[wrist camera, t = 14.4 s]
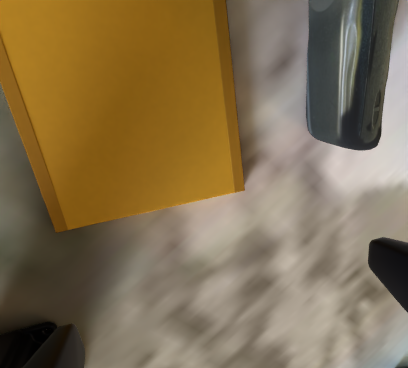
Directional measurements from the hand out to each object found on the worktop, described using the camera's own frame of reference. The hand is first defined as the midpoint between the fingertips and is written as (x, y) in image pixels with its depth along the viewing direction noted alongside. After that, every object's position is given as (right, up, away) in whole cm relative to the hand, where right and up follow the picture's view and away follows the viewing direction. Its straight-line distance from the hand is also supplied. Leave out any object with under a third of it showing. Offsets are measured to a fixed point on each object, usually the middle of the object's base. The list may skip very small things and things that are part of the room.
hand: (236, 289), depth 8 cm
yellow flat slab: (-6, +11, +8) cm, 15 cm away
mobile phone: (+7, +13, +10) cm, 18 cm away
